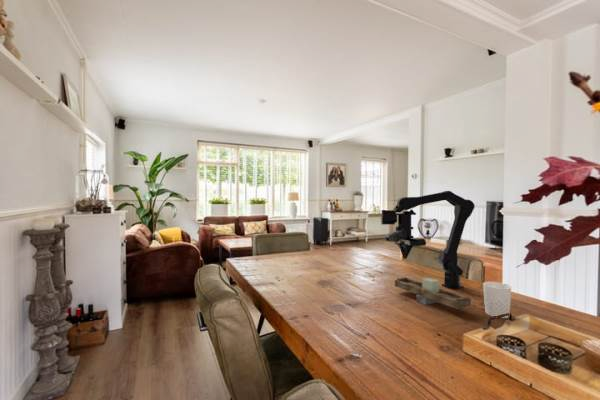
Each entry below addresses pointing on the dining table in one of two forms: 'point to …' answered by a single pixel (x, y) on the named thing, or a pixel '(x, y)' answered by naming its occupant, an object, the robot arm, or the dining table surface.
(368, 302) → the dining table surface
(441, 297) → the beam
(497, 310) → the white cup
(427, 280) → the pale green cube
